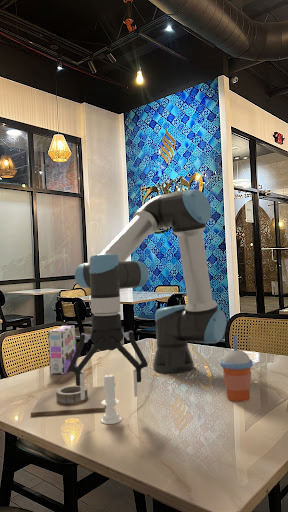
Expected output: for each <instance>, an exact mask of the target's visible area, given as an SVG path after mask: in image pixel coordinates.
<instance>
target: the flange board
mask: <svg viewBox="0 0 288 512" xmlns="http://www.w3.org/2000/svg"><path fill="white" fill-rule="evenodd" d="M84 388H85V397H84V400H81V391H80V386H77V385H76V384H75V385H66V386H63V387H60V388H57V389H45V390H43V392H42V393H41V395H40V397H39V398H38V401H36V403H35V405H34V406H33V408H32V410H31V411H30V417H39V416H55V415H57V416H58V415H71V414H82V413H83V414H84V413H98V412H99V413H100V412H106V406H105V405H103V404H102V403H101V402H102V401H103V400H105V387H104V385H103V386H90V387H89V386H88V387H87V386H85V385H84Z"/></svg>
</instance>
